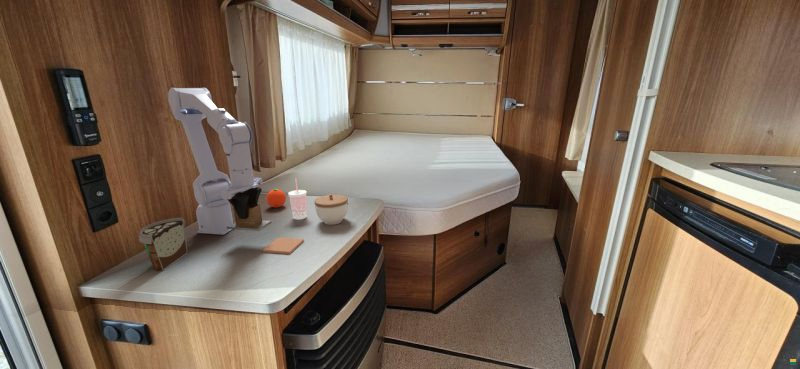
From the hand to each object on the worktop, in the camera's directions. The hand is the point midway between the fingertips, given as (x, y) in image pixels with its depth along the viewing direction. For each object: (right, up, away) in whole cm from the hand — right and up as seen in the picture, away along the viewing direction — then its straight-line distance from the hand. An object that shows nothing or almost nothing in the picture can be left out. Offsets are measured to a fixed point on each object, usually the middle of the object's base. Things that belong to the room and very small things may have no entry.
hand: (247, 215), depth 93 cm
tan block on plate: (0, -3, +1) cm, 3 cm away
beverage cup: (+8, -3, +22) cm, 24 cm away
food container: (-19, -11, -7) cm, 23 cm away
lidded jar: (+20, -4, +18) cm, 27 cm away
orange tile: (+6, -8, +1) cm, 10 cm away
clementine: (-4, 0, +34) cm, 34 cm away
